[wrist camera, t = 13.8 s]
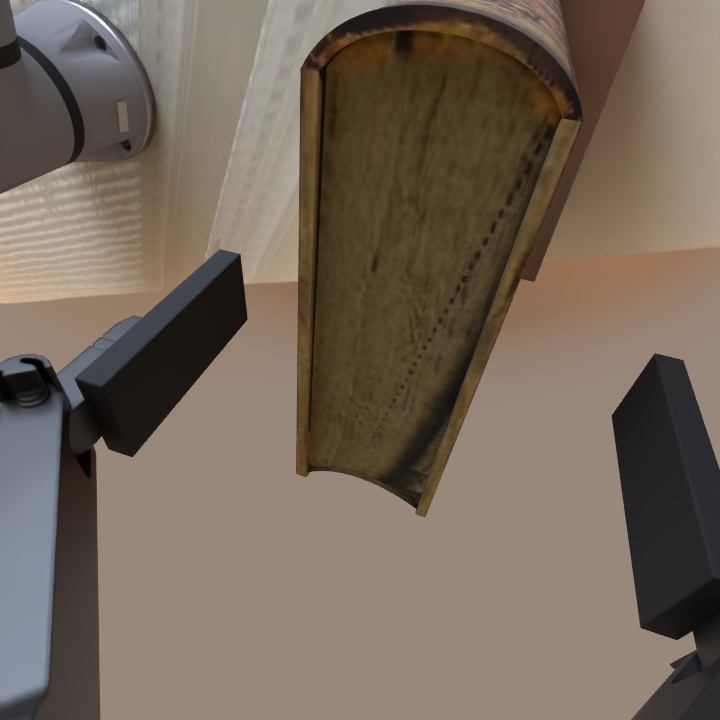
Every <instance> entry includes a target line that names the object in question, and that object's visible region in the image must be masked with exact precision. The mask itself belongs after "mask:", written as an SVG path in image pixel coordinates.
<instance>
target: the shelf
mask: <svg viewBox="0 0 720 720" xmlns="http://www.w3.org/2000/svg"><path fill="white" fill-rule="evenodd" d="M559 1H560V5H561V10H562V15H563V19H564V24H565V29H566V34H567V39H568V44H569V49H570V54H571V59H572V64H573V69H574V73H575V78H576V83H577V88H578V93H579V98H580V103H581V108H582V113H583V125H582V127H581V130H580V132H579V135H578V137H577V140H576V142H575V145H574V147H573V150H572V152H571V155H570V157H569V160H568V162H567V165H566V167H565V170H564V172H563V175H562V177H561V180H560V182H559V184H558V187H557V189H556V192H555V194H554V197H553V199H552V202H551V204H550V207H549V209H548V212H547V214H546V217H545V219H544V222H543V224H542V227H541V229H540V232H539V234H538V237H537V239H536V242H535V244H534V247H533V249H532V252H531V254H530V257H529V259H528V262H527V264H526V267H525V269H524V272H523V274H522V277H521V279H524V280H528V281H535V279H536V276H537V273H538V271H539V268H540V266H541V263H542V261H543V258H544V256H545V253H546V251H547V248H548V246H549V243H550V241H551V238H552V235H553V233H554V230H555V228H556V225H557V223H558V220H559V218H560V215H561V213H562V210H563V208H564V205H565V203H566V200H567V197H568V195H569V192H570V190H571V187H572V185H573V182H574V180H575V177H576V175H577V172H578V170H579V167H580V165H581V162H582V159H583V157H584V154H585V152H586V149H587V147H588V144H589V142H590V139H591V137H592V134H593V132H594V129H595V127H596V124H597V121H598V119H599V116H600V114H601V111H602V109H603V106H604V104H605V101H606V99H607V96H608V94H609V91H610V88H611V86H612V83H613V81H614V78H615V76H616V73H617V71H618V68H619V66H620V63H621V61H622V58H623V56H624V53H625V50H626V48H627V45H628V43H629V40H630V38H631V35H632V33H633V30H634V28H635V25H636V23H637V20H638V18H639V15H640V12H641V10H642V7H643V5H644V2H645V0H559Z"/></svg>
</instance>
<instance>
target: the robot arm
mask: <svg viewBox="0 0 720 720" xmlns="http://www.w3.org/2000/svg"><path fill="white" fill-rule="evenodd" d="M154 125H155V106H154V99H153V94H152V90H151V87H150V83H149V80H148V78H147V75H146V73H145V70H144V68H143V66H142V64H141V62H140V60H139V58H138V56H137V55H136V53H135V51H134V50H133V48H132V47H131V45H130V44H129V42H128V41H127V40H126V38H125V37H124V36H123V34H122V33H121V32H120V31H119V30H118V29H117V28H116V27H115V26H114V25H113V24H112V23H111V22H110V21H109V20H108V19H107V18H106V17H105V16H103V15H102V14H101V13H99V12H98V11H97V10H95V9H94V8H92V7H90V6H88V5H86V4H84V3H82V2H79V1H77V0H43V1H40V2H37V3H34V4H32V5H30V6H29V7H27V8H26V9H25V10H23V11H22V12H21V13H19V14H18V15H17V16H16V17H14V18H13V14H12V10H11V6H10V1H9V0H0V194H1V193H3V192H6V191H8V190H10V189H12V188H15V187H17V186H19V185H21V184H24V183H26V182H28V181H31V180H33V179H35V178H37V177H40V176H42V175H44V174H47V173H49V172H51V171H53V170H56V169H58V168H60V167H62V166H65V165H67V164H69V163H72V162H106V163H109V162H118V161H122V160H126V159H128V158H131V157H133V156H135V155H137V154H138V153H140V152H141V151H142V150H144V149H145V147H146V146H147V145H148V143H149V142H150V139H151V137H152V134H153V131H154ZM246 321H247V310H246V300H245V292H244V282H243V273H242V264H241V255H240V254H238V253H233V252H229V251H225V250H221V249H220V250H218V251H217V252H216V253H215V254H214V255H213V256H212V257H211V258H209V259H208V260H207V261H206V262H205V263H204V264H203V265H202V266H200V267H199V268H198V269H197V270H196V271H195V272H194V273H192V274H191V275H190V276H189V277H188V278H187V279H186V280H185V281H183V282H182V283H181V284H180V285H179V286H178V287H177V288H176V289H174V290H173V291H172V292H171V293H170V294H169V295H168V296H167V297H166V298H164V299H163V300H162V301H161V302H160V303H159V304H158V305H156V306H155V307H154V308H153V309H152V310H151V311H150V312H149V313H147V314H146V315H145V316H144V317H143V318H141V317H137V316H132V317H130V318H128V319H125V320H123V321H121V322H119V323H117V324H115V325H114V326H113V327H112V328H111V329H109V330H108V331H107V332H106V333H105V334H104V335H103V337H100V338H99V339H98V340H96V341H95V342H94V343H93V345H92V346H89V347H88V348H87V349H86V350H85V351H83V352H82V353H81V354H80V355H79V356H77V358H75V359H74V360H73V361H72V362H70V363H69V364H68V365H67V366H66V367H64V368H63V369H62V370H61V371H60V372H59V373H57V374H56V373H55V371H54V369H53V367H52V365H51V363H50V361H49V360H47V359H46V358H45V357H44V356H41V355H36V354H26V355H19V356H15V357H12V358H9V359H7V360H5V361H3V362H1V363H0V720H100V680H99V613H98V546H97V482H96V481H97V480H96V451H95V448H94V446H93V445H94V444H95V443H96V442H97V441H98V440H99V439H100V437H101V436H102V437H103V439H104V441H105V443H106V445H107V447H108V449H110V450H112V451H115V452H119V453H121V454H124V455H127V456H130V457H133V456H134V455H135V454H136V453H137V451H138V450H139V449H140V448H141V446H142V445H143V444H144V443H145V442H146V441H147V439H148V438H149V437H150V436H151V435H152V433H153V432H154V431H155V430H156V429H157V427H158V426H159V425H160V424H161V423H162V421H163V420H164V419H165V418H166V417H167V415H168V414H169V413H170V412H171V411H172V409H173V408H174V407H175V406H176V404H177V403H178V402H179V401H180V400H181V399H182V397H183V396H184V395H185V394H186V393H187V391H188V390H189V389H190V388H191V387H192V385H193V384H194V383H195V382H196V380H197V379H198V378H199V377H200V376H201V375H202V373H203V372H204V371H205V370H206V369H207V367H208V366H209V365H210V364H211V363H212V361H213V360H214V359H215V358H216V356H217V355H218V354H219V353H220V352H221V351H222V349H223V348H224V347H225V346H226V345H227V343H228V342H229V341H230V340H231V339H232V337H233V336H234V335H235V334H236V332H237V331H238V330H239V329H240V328H241V327H242V325H243V324H244V323H245V322H246ZM612 421H613V429H614V436H615V443H616V451H617V458H618V465H619V473H620V480H621V487H622V495H623V502H624V510H625V517H626V524H627V532H628V539H629V546H630V554H631V560H632V569H633V576H634V583H635V590H636V598H637V605H638V613H639V619H640V627H641V628H642V629H646V630H648V631H651V632H654V633H657V634H660V635H663V636H666V637H669V638H672V639H675V640H678V639H680V638H682V637H683V636H685V635H687V634H688V633H690V632H692V631H693V634H694V639H695V643H696V648H697V650H695V651H693V652H691V653H690V654H688V655H686V656H684V657H682V658H680V659H678V660H676V661H675V662H673V663H671V664H670V665H671V666H672V667H673V668H674V669H675V670H674V671H673V673H672V674H671V675H670V676H669V677H668V678H667V679H666V681H665V682H664V683H663V684H662V685H661V686H660V687H659V688H658V690H657V691H656V692H655V693H654V694H653V695H652V696H651V698H650V699H649V700H648V701H647V702H646V703H645V704H644V705H643V707H642V708H641V709H640V710H639V711H638V712H637V713H636V715H635V716H634V717H633V718H632V719H631V720H720V469H719V466H718V464H717V460H716V458H715V454H714V451H713V448H712V446H711V442H710V439H709V436H708V433H707V430H706V427H705V424H704V421H703V418H702V415H701V412H700V409H699V406H698V403H697V400H696V397H695V394H694V391H693V388H692V385H691V382H690V379H689V376H688V373H687V370H686V367H685V364H684V361H683V360H680V359H676V358H672V357H667V356H664V355H659V354H654V355H653V357H652V358H651V360H650V361H649V362H648V364H647V366H646V367H645V368H644V370H643V371H642V373H641V374H640V376H639V377H638V378H637V380H636V381H635V383H634V384H633V386H632V387H631V389H630V390H629V392H628V393H627V395H626V396H625V397H624V399H623V400H622V402H621V403H620V404H619V406H618V407H617V409H616V410H615V412H614V413H613V415H612Z"/></svg>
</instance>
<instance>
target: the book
mask: <svg viewBox="0 0 720 720" xmlns="http://www.w3.org/2000/svg"><path fill="white" fill-rule="evenodd" d="M582 125H583V113H582V108H581V103H580V98H579V93H578V88H577V83H576V78H575V73H574V69H573V64H572V59H571V54H570V49H569V44H568V39H567V34H566V29H565V24H564V19H563V15H562V10H561V5H560V1H559V0H407V1H403V2H400V3H397V4H393V5H390V6H386V7H383V8H380V9H376V10H373V11H369V12H366V13H364V14H361V15H359V16H356V17H354V18H352V19H349V20H348V21H346V22H344V23H343V24H341V25H339V26H337V27H336V28H335V29H333V30H332V31H331V32H329V33H328V34H327V35H326V36H325V37H324V38H323V39H322V40H321V41H320V42H318V43H317V45H316V46H315V47H314V48H313V50H312V51H311V52H310V54H309V55H308V57H307V58H306V60H305V61H304V63H303V65H302V67H301V86H300V176H299V265H298V357H297V444H296V445H297V446H296V449H297V450H296V473H297V474H298V475H301V476H304V477H307V476H308V474H309V473H310V472H312V471H333V472H339V473H344V474H348V475H352V476H355V477H358V478H361V479H364V480H367V481H369V482H371V483H373V484H376V485H378V486H380V487H382V488H384V489H386V490H388V491H389V492H391V493H393V494H395V495H396V496H398V497H400V498H401V499H403V500H404V501H406V502H407V503H409V504H410V505H412V506H413V507H414V508H416V514H417V515H420V516H423V517H425V516H426V514H427V511H428V509H429V506H430V504H431V501H432V499H433V496H434V494H435V491H436V489H437V486H438V483H439V481H440V479H441V476H442V474H443V471H444V468H445V466H446V464H447V461H448V459H449V456H450V454H451V451H452V449H453V446H454V444H455V441H456V439H457V436H458V434H459V431H460V429H461V426H462V424H463V421H464V419H465V416H466V414H467V411H468V409H469V406H470V404H471V401H472V399H473V396H474V394H475V391H476V389H477V386H478V384H479V382H480V379H481V377H482V374H483V371H484V369H485V367H486V364H487V361H488V359H489V356H490V354H491V352H492V349H493V347H494V344H495V342H496V339H497V337H498V334H499V332H500V329H501V326H502V324H503V322H504V319H505V317H506V314H507V312H508V309H509V306H510V304H511V302H512V299H513V297H514V294H515V292H516V289H517V287H518V284H519V282H520V279H521V277H522V274H523V272H524V269H525V267H526V264H527V262H528V259H529V257H530V254H531V252H532V249H533V247H534V244H535V242H536V239H537V237H538V234H539V232H540V229H541V227H542V224H543V222H544V219H545V217H546V214H547V212H548V209H549V207H550V204H551V202H552V199H553V197H554V194H555V192H556V189H557V187H558V184H559V182H560V180H561V177H562V175H563V172H564V170H565V167H566V165H567V162H568V160H569V157H570V155H571V152H572V150H573V147H574V145H575V142H576V140H577V137H578V135H579V132H580V130H581V127H582Z"/></svg>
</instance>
